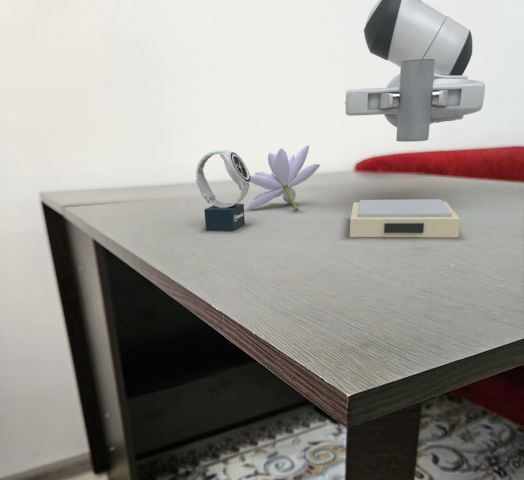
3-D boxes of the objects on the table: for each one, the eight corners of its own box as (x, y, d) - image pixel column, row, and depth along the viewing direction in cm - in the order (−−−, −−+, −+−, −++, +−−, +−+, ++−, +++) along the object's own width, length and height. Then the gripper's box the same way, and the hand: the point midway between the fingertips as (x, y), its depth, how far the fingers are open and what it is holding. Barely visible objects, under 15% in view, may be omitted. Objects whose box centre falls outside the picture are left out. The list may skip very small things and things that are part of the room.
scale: (444, 218, 80) (446, 198, 79) (458, 238, 68) (461, 214, 66) (352, 218, 83) (353, 198, 82) (349, 237, 70) (350, 215, 69)
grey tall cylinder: (426, 141, 74) (433, 58, 70) (394, 142, 75) (399, 60, 71) (429, 139, 78) (436, 60, 73) (398, 140, 79) (403, 63, 75)
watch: (245, 231, 77) (241, 151, 72) (195, 230, 79) (188, 153, 75) (256, 224, 82) (253, 149, 77) (209, 223, 84) (203, 150, 79)
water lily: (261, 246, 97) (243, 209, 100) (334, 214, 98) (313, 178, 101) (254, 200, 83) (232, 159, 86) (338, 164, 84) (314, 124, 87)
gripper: (346, 82, 86) (341, 78, 74) (476, 75, 83) (495, 69, 70) (345, 123, 89) (340, 126, 77) (471, 118, 85) (488, 120, 73)
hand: (415, 99), depth 73 cm, fingers closed on grey tall cylinder, 4 cm apart
